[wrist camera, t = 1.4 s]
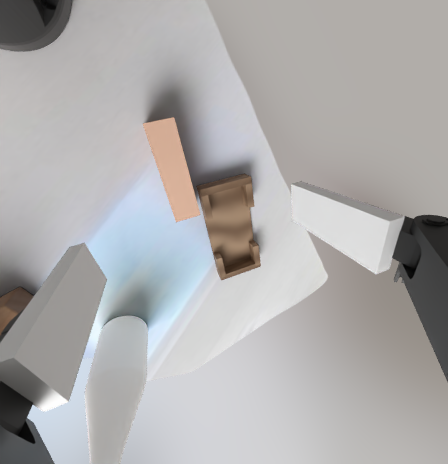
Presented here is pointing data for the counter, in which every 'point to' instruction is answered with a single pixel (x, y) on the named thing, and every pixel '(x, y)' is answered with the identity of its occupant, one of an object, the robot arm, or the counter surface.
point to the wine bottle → (115, 387)
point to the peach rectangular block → (172, 167)
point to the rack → (230, 224)
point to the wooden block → (13, 305)
